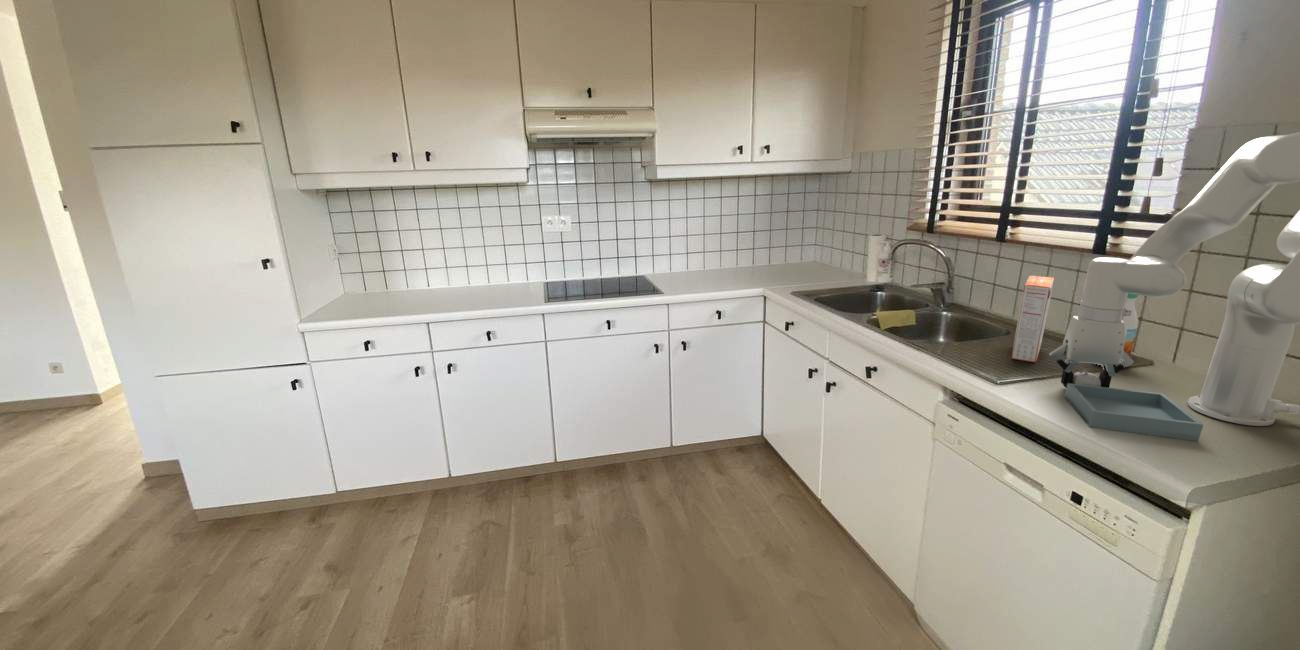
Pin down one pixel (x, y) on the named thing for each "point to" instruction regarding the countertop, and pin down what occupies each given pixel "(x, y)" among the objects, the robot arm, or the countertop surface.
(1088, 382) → the garlic
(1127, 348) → the milk bottle
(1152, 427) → the tray
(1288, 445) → the countertop surface
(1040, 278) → the cracker box
